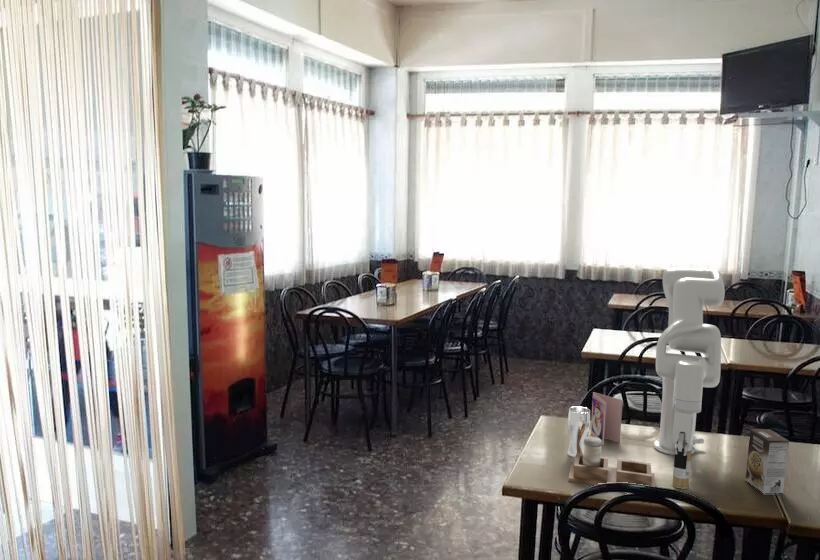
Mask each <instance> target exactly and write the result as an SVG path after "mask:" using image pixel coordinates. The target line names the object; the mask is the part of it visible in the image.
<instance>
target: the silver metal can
mask: <svg viewBox="0 0 820 560" xmlns="http://www.w3.org/2000/svg"><path fill="white" fill-rule="evenodd" d="M567 416H568V417H567V431H568V440H569V441H568V442H569V445H568V449H567V455H568V456H569V457H571V458H574V457H575V458H576V453H577V454H583V448H584V438H585V437H589V434H590V431H591V409H589V408H588V407H584V406H580V405H579V406H570V407H569V409H568V415H567ZM575 458H574V459H575Z"/></svg>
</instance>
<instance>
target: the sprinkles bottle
mask: <svg viewBox="0 0 820 560" xmlns="http://www.w3.org/2000/svg"><path fill="white" fill-rule="evenodd" d="M683 444H685V443H683ZM676 445H677V443H676V444H675V451H676ZM683 448H684V447H683ZM684 449H685V448H684ZM691 451H692V443H691V445H690V447H687V452H686V455H687V465H686V469H680V468H675V467H674V466H673V469H672V476H673V477H672V483H671V485H672V486H673V487H674V488H676V489H678V488H681V489H680V490H688V489H689V487H690V486H689V484H690V483H689V482H690V475H691V473H690V472H691V461H692V460H691V458H692V455H691Z"/></svg>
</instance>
